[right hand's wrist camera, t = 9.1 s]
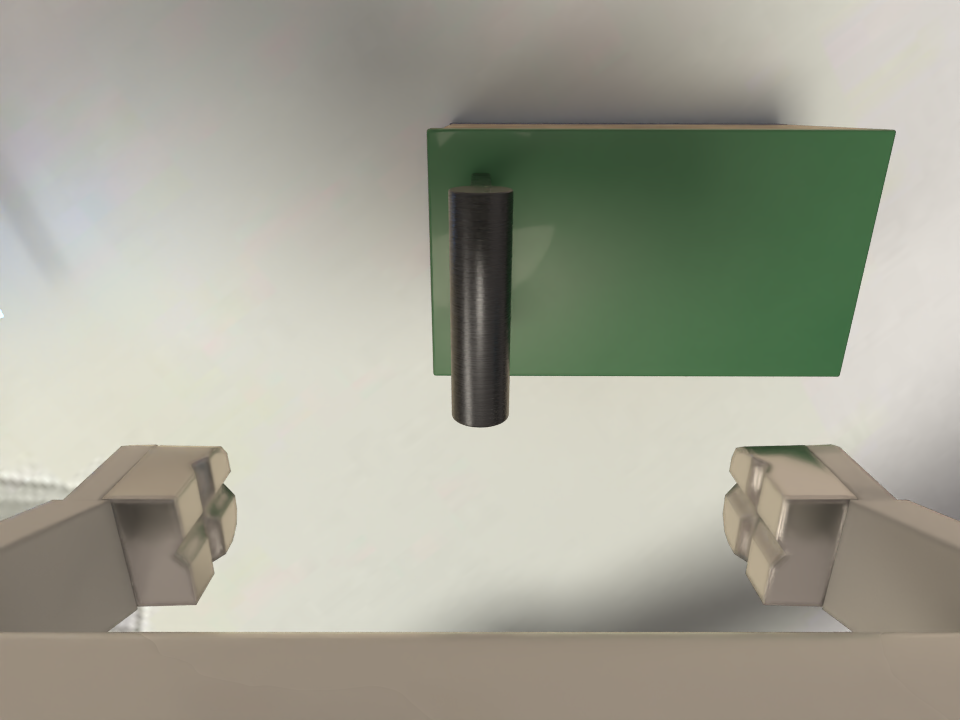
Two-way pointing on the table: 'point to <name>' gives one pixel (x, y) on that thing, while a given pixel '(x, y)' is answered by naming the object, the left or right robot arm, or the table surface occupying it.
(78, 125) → the table surface
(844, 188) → the lid
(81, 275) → the table surface
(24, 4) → the table surface
